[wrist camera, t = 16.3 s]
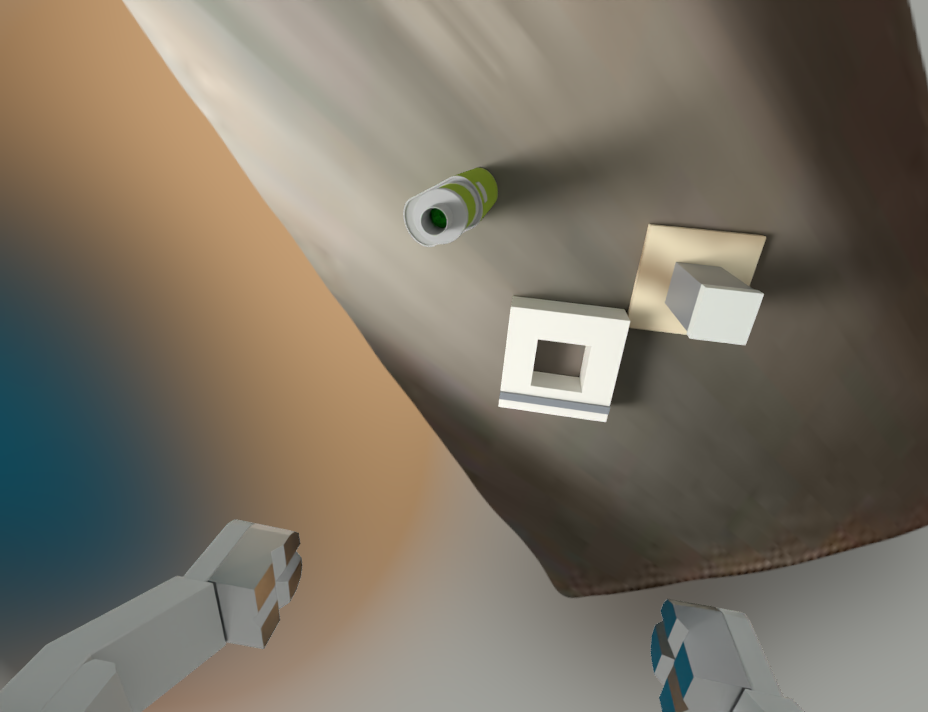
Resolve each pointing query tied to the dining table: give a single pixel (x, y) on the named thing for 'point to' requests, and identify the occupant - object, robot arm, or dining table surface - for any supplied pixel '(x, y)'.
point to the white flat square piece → (567, 325)
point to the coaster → (685, 247)
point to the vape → (450, 207)
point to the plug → (712, 303)
